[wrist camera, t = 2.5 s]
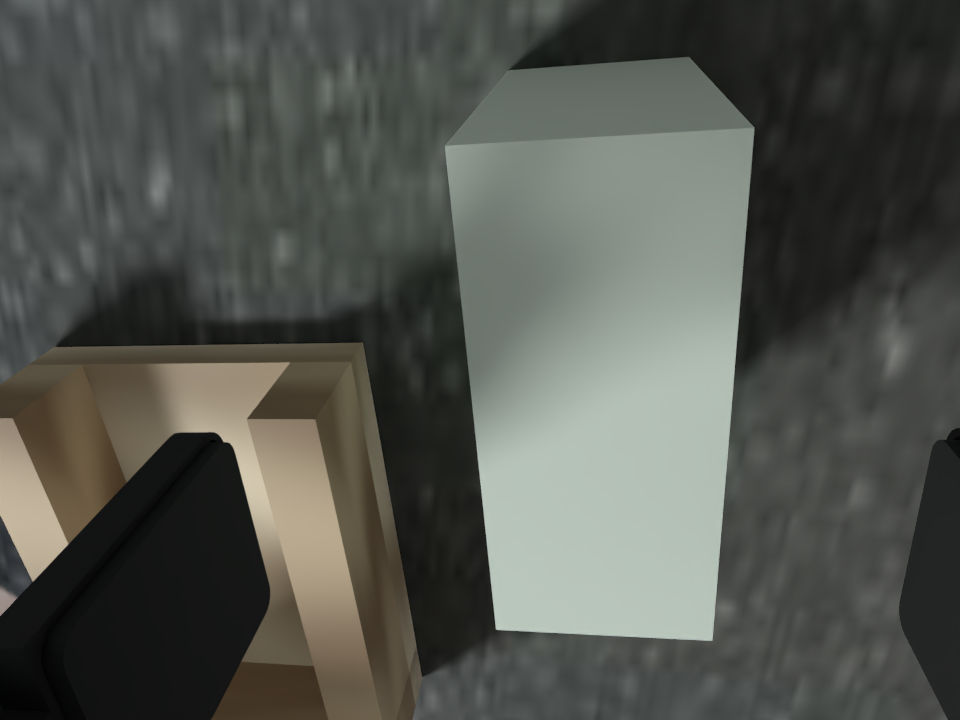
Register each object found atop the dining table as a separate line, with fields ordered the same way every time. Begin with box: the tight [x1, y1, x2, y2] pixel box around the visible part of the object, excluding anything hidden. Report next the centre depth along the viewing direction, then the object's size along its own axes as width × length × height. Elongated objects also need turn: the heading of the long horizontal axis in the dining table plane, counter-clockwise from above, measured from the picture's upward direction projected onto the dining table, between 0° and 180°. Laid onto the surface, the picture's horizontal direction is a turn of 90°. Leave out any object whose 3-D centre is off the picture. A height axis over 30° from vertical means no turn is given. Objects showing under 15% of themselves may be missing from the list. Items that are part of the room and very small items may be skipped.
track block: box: [0, 343, 422, 720], centre depth 18 cm, size 12×8×9 cm
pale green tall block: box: [445, 57, 754, 641], centre depth 13 cm, size 8×4×7 cm, turn 5°
